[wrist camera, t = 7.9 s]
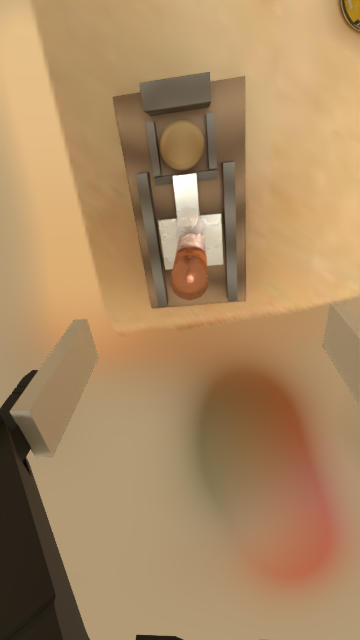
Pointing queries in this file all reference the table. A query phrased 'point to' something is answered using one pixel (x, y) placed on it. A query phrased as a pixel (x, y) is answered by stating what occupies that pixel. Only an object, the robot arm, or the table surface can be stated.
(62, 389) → the robot arm
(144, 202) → the base
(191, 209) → the lever handle
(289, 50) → the table surface
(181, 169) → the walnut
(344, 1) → the pill bottle
